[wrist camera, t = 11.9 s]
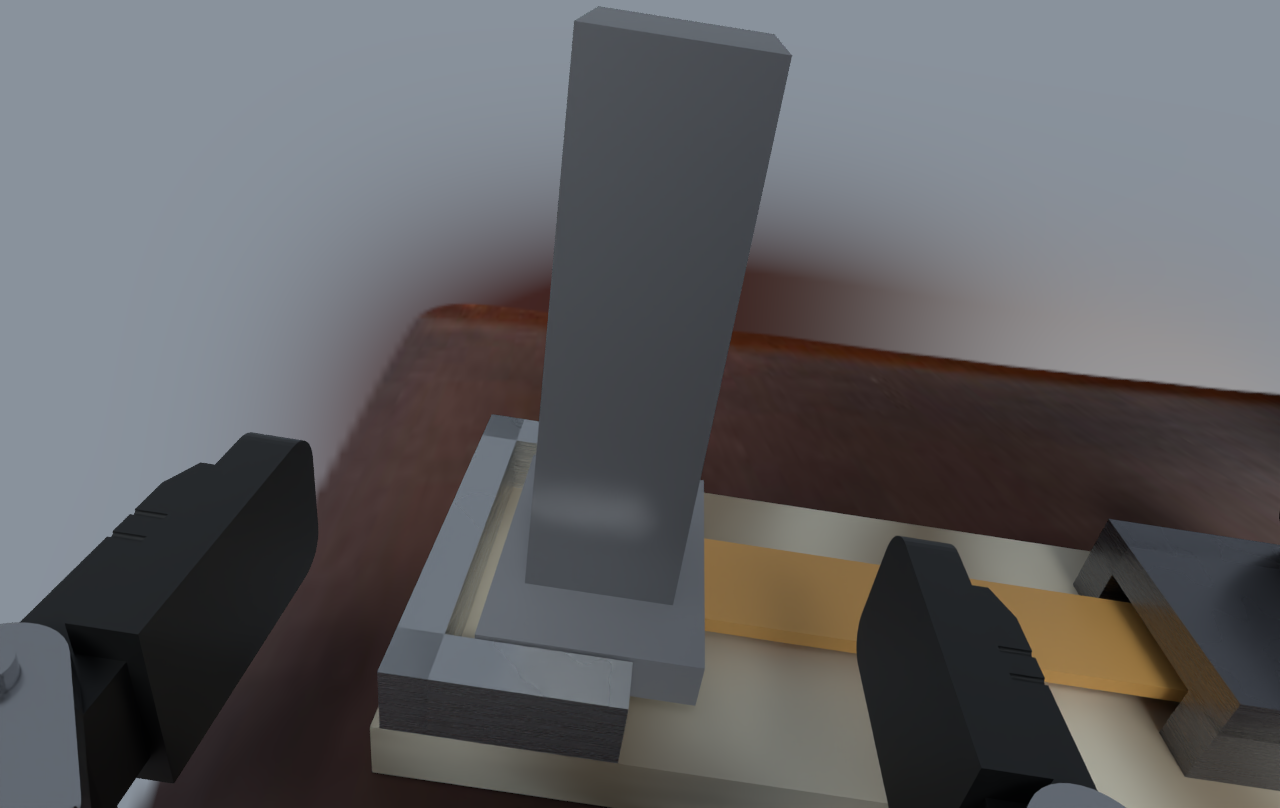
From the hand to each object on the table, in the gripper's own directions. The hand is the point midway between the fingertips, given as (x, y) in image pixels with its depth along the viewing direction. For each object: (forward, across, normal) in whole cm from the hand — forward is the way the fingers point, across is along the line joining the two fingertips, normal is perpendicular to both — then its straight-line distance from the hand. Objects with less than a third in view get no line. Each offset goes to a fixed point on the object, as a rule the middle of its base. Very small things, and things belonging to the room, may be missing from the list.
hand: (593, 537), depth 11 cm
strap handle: (+7, -6, +7) cm, 12 cm away
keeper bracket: (+7, +1, +8) cm, 10 cm away
